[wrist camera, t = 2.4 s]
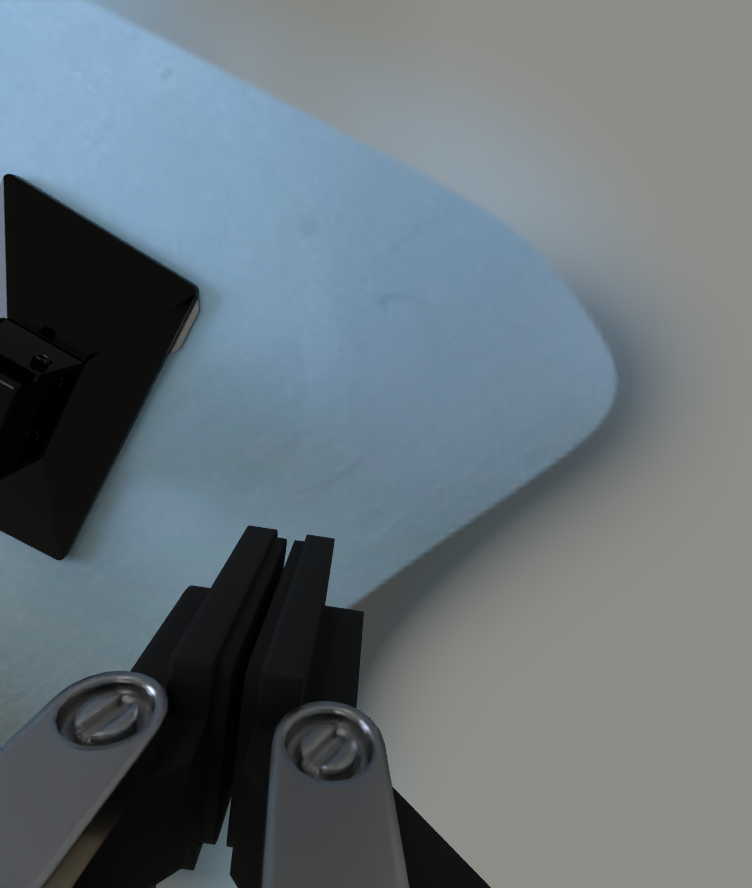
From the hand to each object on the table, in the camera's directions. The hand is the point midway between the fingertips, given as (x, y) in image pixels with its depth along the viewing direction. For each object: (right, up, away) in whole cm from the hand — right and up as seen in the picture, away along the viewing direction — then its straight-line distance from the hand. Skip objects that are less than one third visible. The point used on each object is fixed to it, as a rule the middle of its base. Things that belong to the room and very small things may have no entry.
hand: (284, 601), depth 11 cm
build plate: (-10, +5, +10) cm, 15 cm away
